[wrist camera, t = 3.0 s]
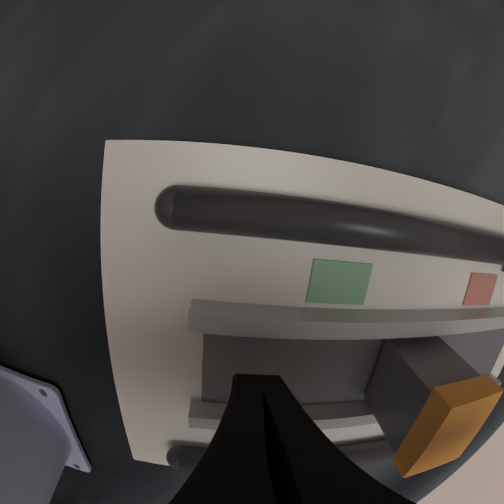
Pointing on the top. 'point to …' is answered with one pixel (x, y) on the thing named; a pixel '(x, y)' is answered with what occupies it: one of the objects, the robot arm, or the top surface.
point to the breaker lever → (428, 401)
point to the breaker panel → (282, 285)
